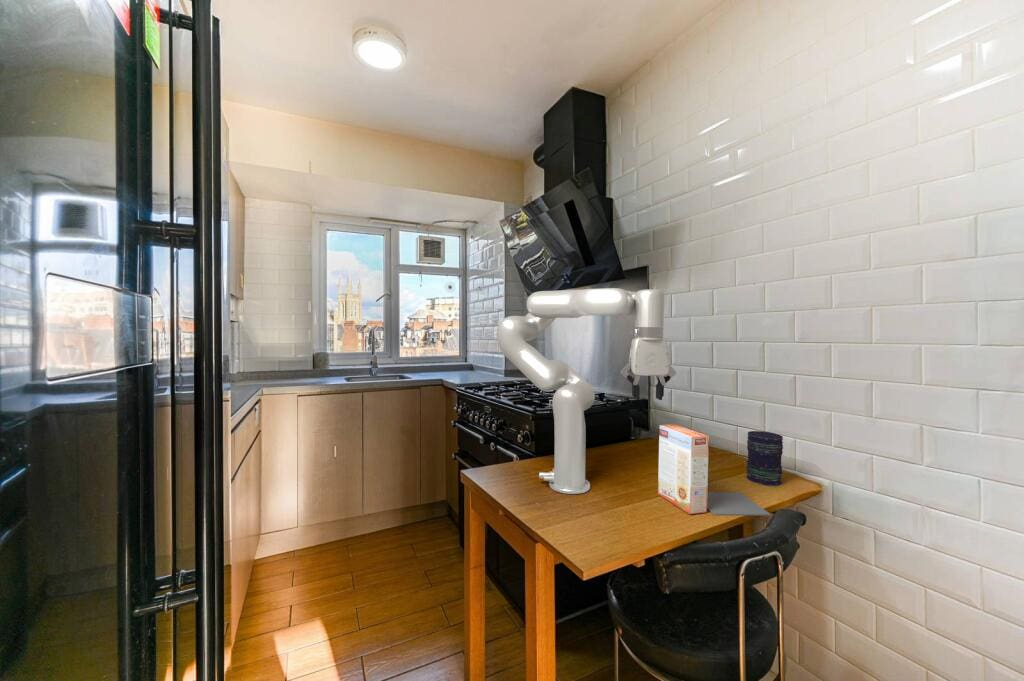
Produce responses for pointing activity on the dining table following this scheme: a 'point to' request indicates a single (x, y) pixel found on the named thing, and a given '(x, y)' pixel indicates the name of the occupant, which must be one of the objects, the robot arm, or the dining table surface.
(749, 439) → the storage jar
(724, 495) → the mat
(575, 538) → the dining table surface
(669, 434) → the cracker box
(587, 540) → the dining table surface
